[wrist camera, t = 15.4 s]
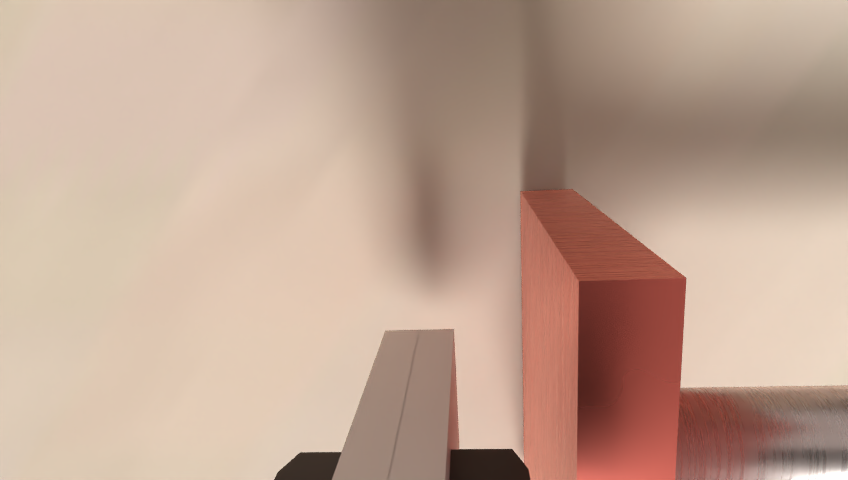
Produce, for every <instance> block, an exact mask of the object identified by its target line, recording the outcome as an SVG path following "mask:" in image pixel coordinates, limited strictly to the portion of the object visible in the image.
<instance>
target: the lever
mask: <svg viewBox="0 0 848 480" xmlns="http://www.w3.org/2000/svg"><path fill="white" fill-rule="evenodd" d="M520 195H521V267H522V338H523V410H524V464H525V465H526V467H527V468H528V469H529V474H530V480H848V385H840V386H770V387H700V388H680V381H681V363H682V345H683V327H684V309H685V291H686V277H684V276H683V275H682V274H680V273H679V272H678V271H677V270H675V269H674V268H673V267H671V266H670V265H669V264H668V263H666V262H665V261H664V260H663V259H661V258H660V257H659V256H657V255H656V254H655V253H654V252H652V251H651V250H650V249H648V248H647V247H646V246H645V245H643V244H642V243H641V242H639V241H638V240H637V239H636V238H634V237H633V236H632V235H630V234H629V233H628V232H627V231H625V230H624V229H623V228H621V227H620V226H619V225H618V224H616V223H615V222H614V221H613V220H611V219H610V218H609V217H607V216H606V215H605V214H604V213H602V212H601V211H600V210H598V209H597V208H596V207H595V206H593V205H592V204H591V203H589V202H588V201H587V200H586V199H584V198H583V197H582V196H580V195H579V194H578V193H577V192H575V191H574V190H573V189H564V190H540V191H520Z"/></svg>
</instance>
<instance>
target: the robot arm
mask: <svg viewBox="0 0 848 480" xmlns="http://www.w3.org/2000/svg"><path fill="white" fill-rule="evenodd" d="M274 480H530V474H529V469H528V468H527V467H526V465H525V464H524V463H523V462H522V460H521V459H520V458H519V457H518V456H517V454H516V453H515V452H514V451H513V449H459V429H458V407H457V386H456V365H455V343H454V329H438V330H396V331H385V333H384V336H383V339H382V342H381V345H380V347H379V350H378V353H377V356H376V358H375V361H374V364H373V367H372V370H371V372H370V375H369V378H368V381H367V383H366V386H365V389H364V392H363V395H362V397H361V400H360V403H359V406H358V408H357V411H356V414H355V417H354V420H353V422H352V425H351V428H350V431H349V433H348V436H347V439H346V442H345V445H344V447H343V450H342V452H308V453H299V454H298V455H297V456H296V457H295V458H294V459H292V460H291V461H290V462H289V463H288V464H287V465H286V466H284V467H283V468H282V469H281V470H280V471H279V472H278V473H277V475H276V477H275V479H274Z"/></svg>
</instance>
